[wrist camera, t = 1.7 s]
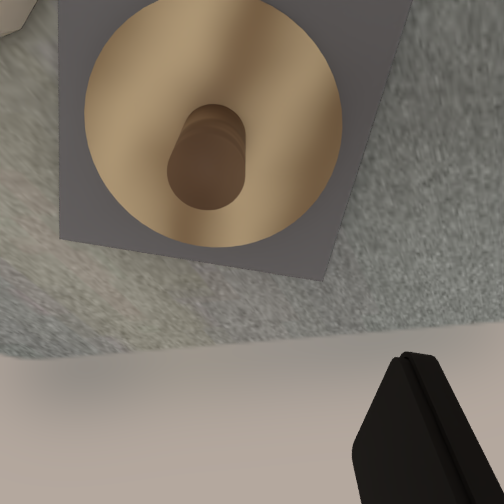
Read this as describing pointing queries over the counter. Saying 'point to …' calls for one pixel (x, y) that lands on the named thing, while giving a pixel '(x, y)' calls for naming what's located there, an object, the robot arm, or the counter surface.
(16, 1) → the bowl
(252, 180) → the lid
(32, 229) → the counter surface
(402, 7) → the mat
